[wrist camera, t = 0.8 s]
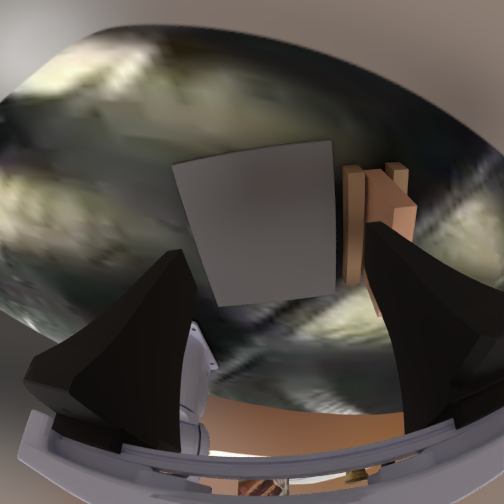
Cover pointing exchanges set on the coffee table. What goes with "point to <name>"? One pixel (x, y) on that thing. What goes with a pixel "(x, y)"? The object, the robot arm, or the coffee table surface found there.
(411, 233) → the tile
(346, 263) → the rack
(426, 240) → the coffee table surface
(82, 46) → the coffee table surface
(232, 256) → the mat
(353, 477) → the ceramic cup
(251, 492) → the cake mix box
